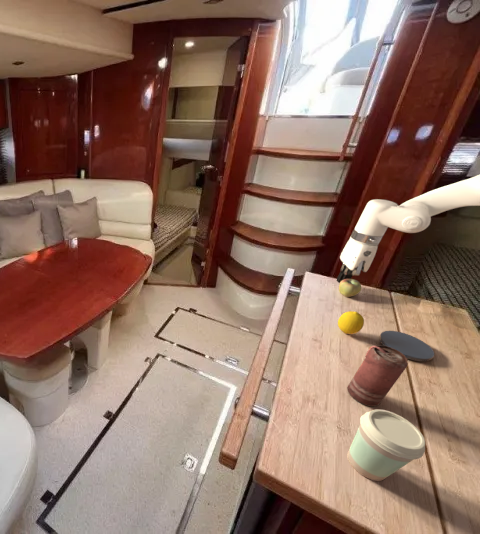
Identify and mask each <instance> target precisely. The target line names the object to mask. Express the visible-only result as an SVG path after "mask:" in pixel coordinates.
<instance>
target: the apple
mask: <svg viewBox="0 0 480 534" xmlns="http://www.w3.org/2000/svg"><path fill="white" fill-rule="evenodd" d="M360 292H362V284H361V282H360V281H359V280H357V279H353V278H351V279H344V280H342V281H341V282H340V283H339V285H338V293H339V294H341V295H342V296H344V297H346V298H350V297H354V296H356V295H358V294H359V293H360Z"/></svg>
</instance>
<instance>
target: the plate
mask: <svg viewBox="0 0 480 534" xmlns="http://www.w3.org/2000/svg"><path fill="white" fill-rule="evenodd" d="M378 340H379V342H380V344H381V345H382V346H387V347H391V348H393V349H396V350H397V351H399V352H401V353H402V354H403V355H405V357H406V358H407V360H412V361H415V362H429V361H432V360H433V358H434V357H435V351H434V350H433V348H432V347H431V346H430V345H429V344H427V343H426V342H424V341H423V340H422V339H420V338H418V337H415V336H413V335H410V334H408V333H405V332H402V331H396V330H385V331H382V332H381V333H380V334H379V336H378Z"/></svg>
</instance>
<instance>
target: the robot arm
mask: <svg viewBox="0 0 480 534" xmlns="http://www.w3.org/2000/svg"><path fill="white" fill-rule="evenodd" d="M476 206H477V207H479V206H480V174H477V175H475V176H472V177H470V178H466V179H462V180H460V181H457V182H454V183H450V184H448V185H444V186H441V187H438V188H435V189H432V190H430V191H427V192H424V193H423V194H420V195H417V196H415V197H413V198H411V199H409V200H406V201H405V202H402V203H401V204H400V205H399V204H398V203H397V202H394V201H391V200H388V199H380V198H379V199H378V198H375V199H371V200H369V201H368V202H367V203H366V205H365V207H364V209H363V210H362V213H361V215H360V217H359V219H358V221H357V223H356V225H355V227H354V229H353V230H352V232H351V235H350V237H349V239H348V240H347V242H346V244H345V246H344V248H343V249H342V251H341V253H340V256H339V259H340V262H341V263H342V265H341V268H340V272H339V274H338V275H337V277H336V279H337V280H336V282H337V283H339V284H340V282H341V281H342V280H344V279H352V278H353V276H357V277H358V276H360V274H361V272H363V273H367V272H368V270H369V269H370V267H371V265H372V263H373V261H374V258H375V257H376V253H377V251H378V247H379V244H380V242H381V241H382V239H383V237H384V236H385V233H386V232H387V230H388V228H390V229H393V230H396V231H398V232H402V233H406V234H407V233H408V234H416V233H420V232H422V231H425V230H426V229H427V228H429V226H430V225H431V221H432V218H431V217H433V216H436V215H439V214H441V213H444V212H446V211H451V210H453V209H458V208H463V207H476Z"/></svg>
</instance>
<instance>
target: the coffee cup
mask: <svg viewBox="0 0 480 534" xmlns="http://www.w3.org/2000/svg"><path fill="white" fill-rule="evenodd" d="M359 423H360V424H359V426H358V428H357V430H356V433H355V435H354V437H353V440H352V441H351V444H350V447H349V449H348V451H347V454H346V456H347V457H346V458H347V461H348V463H349V464H350V466H351V467H352V468H353V469H354V470H355V471H356V472H357V473H358V474H360V475H361V476H363V477H365V478H367V479H369V480H371V481H375V482H381V481H383V480H385V479H386V478H388V477H390V476H391V475H393V474H394V473H396V472H397V471H399V470H400V469H402V468H403V467H405V466H406V465H408V464H409V463H411V462H412V461H413V460H419V459H421V458H422V457H423V456H424V454H425V451H426V439H425V437H424V435H423V434H422V432H421V431H420V429H418V428H417V426H415V425H414V423H412V422H411V421H409V420H407V418H404V417H403V416H401V415H399V414H397V413H395V412H393V411H389V410H387V409H386V410H385V409H373V410H370V411H366V412H365V413H364V414H362V415H361V416H360V418H359Z"/></svg>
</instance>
